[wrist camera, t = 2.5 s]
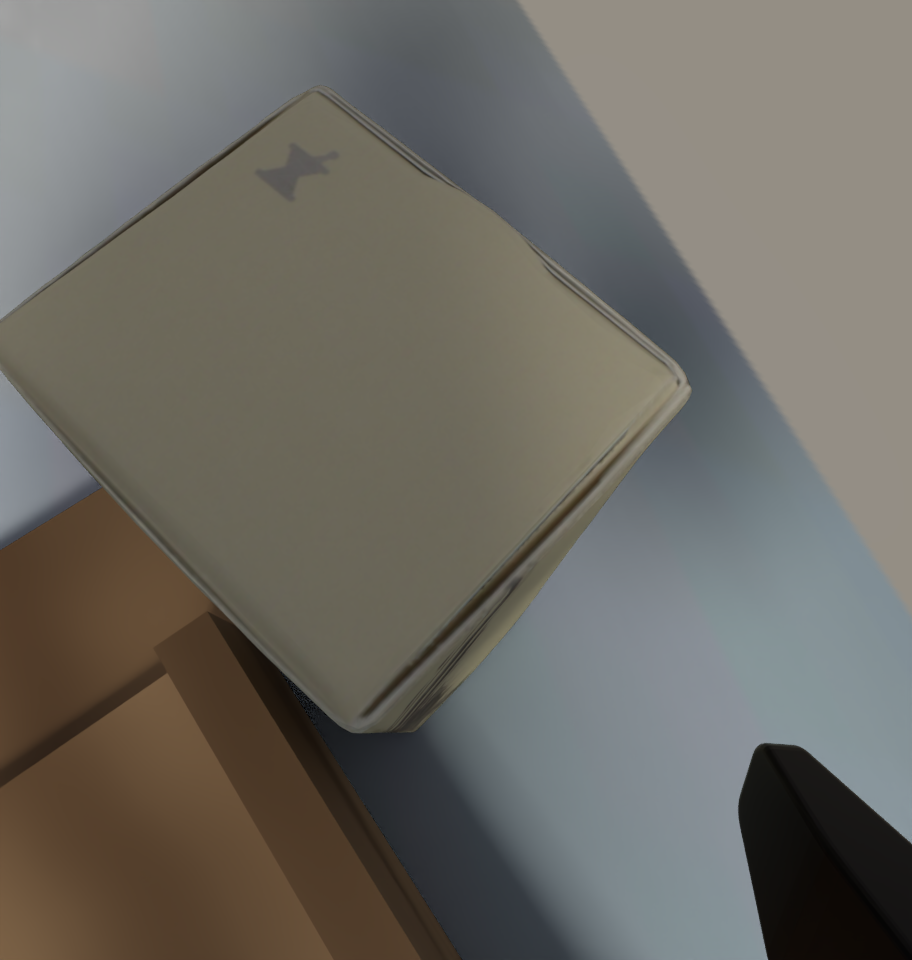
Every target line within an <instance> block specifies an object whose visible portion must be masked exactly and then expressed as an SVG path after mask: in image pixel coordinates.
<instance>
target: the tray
mask: <svg viewBox="0 0 912 960" xmlns="http://www.w3.org/2000/svg"><path fill="white" fill-rule="evenodd" d="M0 960H462V959H461V958H460V956H459V954H458V953H457V951H456V950H455V948H454V947H453V945H452V943H451V942H450V940H449V939H448V937H447V935H446V934H445V932H444V931H443V929H442V927H441V926H440V924H439V923H438V921H437V920H436V918H435V916H434V915H433V913H432V912H431V910H430V908H429V907H428V905H427V904H426V902H425V901H424V899H423V897H422V896H421V894H420V893H419V891H418V889H417V888H416V886H415V885H414V883H413V882H412V880H411V878H410V877H409V875H408V874H407V872H406V870H405V869H404V867H403V866H402V864H401V863H400V861H399V859H398V858H397V856H396V855H395V853H394V851H393V850H392V848H391V847H390V845H389V844H388V842H387V840H386V839H385V837H384V836H383V834H382V832H381V831H380V829H379V828H378V826H377V824H376V823H375V821H374V820H373V818H372V817H371V815H370V813H369V812H368V810H367V809H366V807H365V805H364V804H363V802H362V801H361V799H360V798H359V796H358V794H357V793H356V791H355V790H354V788H353V786H352V785H351V783H350V782H349V780H348V779H347V777H346V775H345V774H344V772H343V771H342V769H341V767H340V766H339V764H338V763H337V761H336V760H335V758H334V756H333V755H332V753H331V752H330V750H329V748H328V747H327V745H326V744H325V742H324V741H323V739H322V737H321V736H320V734H319V733H318V731H317V729H316V728H315V726H314V725H313V723H312V721H311V720H310V718H309V717H308V715H307V714H306V712H305V710H304V709H303V707H302V706H301V704H300V702H299V701H298V699H297V698H296V696H295V695H294V693H293V691H292V690H291V688H290V687H289V685H288V683H287V682H286V680H285V679H284V677H283V676H282V674H281V672H280V671H279V669H278V668H277V667H276V666H275V665H274V664H273V663H272V662H271V661H270V660H269V659H268V658H267V657H266V656H265V655H264V654H263V653H262V652H261V651H260V650H259V649H258V648H257V647H256V646H255V645H254V644H253V643H252V642H251V641H250V640H249V639H248V638H247V637H246V636H245V635H244V634H243V633H242V632H241V631H240V630H239V628H238V627H237V626H236V625H235V624H234V623H233V622H232V621H231V620H230V619H229V618H228V617H227V616H226V615H225V614H224V613H223V612H222V611H221V610H220V609H219V608H218V607H217V606H216V605H215V604H214V603H213V602H212V601H211V600H210V599H209V598H208V597H207V596H206V595H205V594H204V593H203V592H202V591H201V590H200V589H198V588H197V587H196V585H195V584H194V583H193V582H192V581H191V580H190V579H189V578H188V577H187V576H186V575H185V574H184V573H183V572H182V571H181V570H180V569H179V568H178V567H177V566H176V565H175V564H174V563H173V562H172V561H171V560H170V559H169V558H168V557H167V555H166V554H165V553H164V552H163V551H162V550H161V549H160V548H159V547H158V546H157V545H156V544H155V543H154V542H153V541H152V540H151V539H150V538H149V537H148V536H147V535H146V534H145V533H144V532H143V531H142V530H141V529H140V527H139V526H138V525H137V524H136V523H135V522H134V521H133V520H132V519H131V518H130V517H129V516H128V514H127V513H126V512H125V511H124V510H123V509H122V508H121V507H120V506H119V505H118V504H117V502H116V501H115V500H114V499H113V498H112V497H111V496H110V495H109V494H108V493H107V492H106V490H105V489H104V488H103V487H102V488H101V489H99V490H97V491H96V492H94V493H93V494H91V495H89V496H88V497H86V498H84V499H83V500H81V501H80V502H78V503H76V504H75V505H73V506H71V507H70V508H68V509H67V510H65V511H63V512H62V513H60V514H58V515H57V516H55V517H54V518H52V519H50V520H49V521H47V522H45V523H44V524H42V525H41V526H39V527H37V528H36V529H34V530H32V531H31V532H29V533H28V534H26V535H24V536H23V537H21V538H19V539H18V540H16V541H15V542H13V543H11V544H10V545H8V546H6V547H5V548H3V549H2V550H0Z"/></svg>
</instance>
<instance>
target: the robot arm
mask: <svg viewBox="0 0 912 960" xmlns="http://www.w3.org/2000/svg"><path fill="white" fill-rule="evenodd" d="M738 815H739V823H740V828H741V833H742V838H743V843H744V848H745V852H746V857H747V862H748V867H749V872H750V876H751V881H752V886H753V891H754V896H755V900H756V905H757V910H758V915H759V919H760V924H761V929H762V934H763V939H764V943H765V948H766V953H767V957H768V960H912V844H911V843H910V842H909V841H908V840H907V839H906V838H905V837H903V836H902V835H901V834H900V833H899V832H898V831H897V830H896V829H894V828H893V827H892V826H891V825H890V824H889V823H888V822H886V821H885V820H884V819H883V818H882V817H881V816H880V815H879V814H877V813H876V812H875V811H874V810H873V809H872V808H871V807H870V806H868V805H867V804H866V803H865V802H864V801H863V800H862V799H860V798H859V797H858V796H857V795H856V794H855V793H854V792H853V791H851V790H850V789H849V788H848V787H847V786H846V785H845V784H844V783H842V782H841V781H840V780H839V779H838V778H837V777H836V776H834V775H833V774H832V773H831V772H830V771H829V770H828V769H827V768H825V767H824V766H823V765H822V764H821V763H820V762H819V761H818V760H816V759H815V758H814V757H813V756H812V755H811V754H810V753H808V752H807V751H806V750H804V749H803V748H801V747H799V746H796V745H785V744H771V743H764V744H760V745H759V746H758V747H757V748H756V749H755V751H754V753H753V756H752V759H751V762H750V765H749V768H748V772H747V775H746V778H745V781H744V784H743V788H742V791H741V794H740V798H739V805H738Z"/></svg>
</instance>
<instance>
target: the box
mask: <svg viewBox="0 0 912 960" xmlns="http://www.w3.org/2000/svg"><path fill="white" fill-rule="evenodd" d="M0 370H1V371H2V373H3V374H4V375H5V376H6V377H7V379H8V380H9V381H10V382H11V384H12V385H13V386H14V387H15V388H16V390H17V391H18V392H19V393H20V394H21V396H22V397H23V398H24V399H25V400H26V402H27V403H28V404H29V405H30V406H31V407H32V408H33V410H34V411H35V412H36V413H37V414H38V415H39V417H40V418H41V419H42V420H43V421H44V422H45V423H46V425H47V426H48V427H49V428H50V429H51V430H52V431H53V432H54V433H55V435H56V436H57V437H58V438H59V439H60V440H61V441H62V443H63V444H64V445H65V446H66V447H67V448H68V449H69V451H70V452H71V453H72V454H73V455H74V456H75V457H76V459H77V460H78V461H79V462H80V463H81V464H82V465H83V467H84V468H85V469H86V470H87V471H88V472H89V473H90V474H91V475H92V476H93V477H94V479H95V480H96V481H97V482H98V483H99V484H100V485H101V486H102V487H103V488H104V489H105V490H106V492H107V493H108V494H109V495H110V496H111V497H112V498H113V499H114V500H115V501H116V502H117V504H118V505H119V506H120V507H121V508H122V509H123V510H124V511H125V512H126V513H127V514H128V516H129V517H130V518H131V519H132V520H133V521H134V522H135V523H136V524H137V525H138V526H139V527H140V529H141V530H142V531H143V532H144V533H145V534H146V535H147V536H148V537H149V538H150V539H151V540H152V541H153V542H154V543H155V544H156V545H157V546H158V547H159V548H160V549H161V550H162V551H163V552H164V553H165V554H166V555H167V557H168V558H169V559H170V560H171V561H172V562H173V563H174V564H175V565H176V566H177V567H178V568H179V569H180V570H181V571H182V572H183V573H184V574H185V575H186V576H187V577H188V578H189V579H190V580H191V581H192V582H193V583H194V584H195V585H196V587H197V588H198V589H200V590H201V591H202V592H203V593H204V594H205V595H206V596H207V597H208V598H209V599H210V600H211V601H212V602H213V603H214V604H215V605H216V606H217V607H218V608H219V609H220V610H221V611H222V612H223V613H224V614H225V615H226V616H227V617H228V618H229V619H230V620H231V621H232V622H233V623H234V624H235V625H236V626H237V627H238V628H239V630H240V631H241V632H242V633H243V634H244V635H245V636H246V637H247V638H248V639H249V640H250V641H251V642H252V643H253V644H254V645H255V646H256V647H257V648H258V649H259V650H260V651H261V652H262V653H263V654H264V655H265V656H266V657H267V658H268V659H269V660H270V661H271V662H272V663H273V664H274V665H275V666H276V667H277V668H279V669H280V670H281V671H282V672H283V673H284V674H285V675H286V676H287V677H288V678H289V679H290V680H291V681H292V682H293V683H294V684H295V685H296V686H297V687H298V688H299V689H301V690H302V691H303V692H304V693H305V694H306V695H307V696H308V697H309V698H310V699H311V700H312V701H313V702H314V703H315V704H316V705H317V706H318V707H319V708H320V709H321V710H322V711H324V712H325V713H326V714H327V715H328V716H329V717H330V718H331V719H332V720H333V721H334V722H336V723H337V724H338V725H339V726H340V727H342V728H344V729H345V730H347V731H349V732H351V733H379V732H383V733H386V732H388V733H389V732H391V733H392V732H394V733H397V732H414V731H416V730H417V729H418V728H419V727H420V726H421V725H422V724H423V723H424V722H425V721H426V720H427V719H428V718H429V717H430V716H431V715H432V714H433V713H434V712H435V711H436V710H437V709H438V708H439V707H440V706H441V705H442V704H443V703H444V702H445V701H446V700H447V698H448V697H449V696H450V695H451V694H452V693H453V692H454V691H455V690H456V689H457V688H458V687H459V686H460V685H461V684H462V683H463V682H464V681H465V680H466V678H467V677H468V676H469V675H470V674H471V673H472V672H473V671H474V670H475V669H476V668H477V666H478V665H479V664H480V663H481V662H482V661H483V660H484V659H485V658H486V656H487V655H488V654H489V653H490V652H491V651H492V650H493V648H494V647H495V646H496V645H497V644H498V643H499V642H500V640H501V639H502V638H503V637H504V636H505V634H506V633H507V632H508V631H509V630H510V628H511V627H512V626H513V625H514V624H515V622H516V621H517V620H518V619H519V618H520V616H521V615H522V614H523V612H524V611H525V610H526V608H527V607H528V606H529V605H530V603H531V602H532V601H533V599H534V598H535V597H536V595H537V594H538V592H539V591H540V590H541V588H542V587H543V585H544V584H545V583H546V581H547V580H548V578H549V577H550V576H551V574H552V573H553V572H554V570H555V569H556V568H557V566H558V565H559V564H560V562H561V561H562V560H563V558H564V557H565V556H566V554H567V553H568V552H569V550H570V549H571V548H572V546H573V545H574V543H575V542H576V540H577V539H578V538H579V537H580V535H581V534H582V533H583V531H584V530H585V529H586V528H587V526H588V525H589V524H590V523H591V521H592V520H593V519H594V517H595V516H596V514H597V513H598V512H599V510H600V509H601V508H602V506H603V505H604V504H605V502H606V501H607V500H608V498H609V497H610V496H611V494H612V493H613V492H614V490H615V489H616V488H617V486H618V485H619V484H620V482H621V481H622V480H623V478H624V477H625V476H626V474H627V473H628V472H629V470H630V469H631V468H632V466H633V465H634V464H635V462H636V461H637V460H638V459H639V457H640V456H641V455H642V454H643V452H644V451H645V450H646V449H647V447H648V446H649V445H650V444H651V443H652V442H653V440H654V439H655V438H656V437H657V436H658V435H659V433H660V432H661V431H662V430H663V429H664V428H665V427H666V426H667V424H668V423H669V422H670V421H671V420H672V419H673V418H674V417H675V415H676V414H677V413H678V412H679V411H680V410H681V409H682V407H683V406H684V405H685V403H686V402H687V401H688V399H689V397H690V394H691V392H692V389H691V387H690V384H689V382H688V379H687V376H686V374H685V372H684V371H683V370H682V368H681V367H680V366H679V365H678V363H677V362H676V361H675V360H674V359H673V358H671V357H670V356H669V355H668V354H667V353H666V352H664V351H663V350H662V349H661V348H660V347H658V346H657V345H656V344H655V343H654V342H652V341H651V340H650V339H649V338H648V337H647V336H645V335H644V334H643V333H642V332H641V331H639V330H638V329H637V328H636V327H635V326H633V325H632V324H631V323H630V322H629V321H627V320H626V319H625V318H624V317H623V316H621V315H620V314H619V313H618V312H616V311H615V310H614V309H613V308H611V307H610V306H609V305H608V304H606V303H605V302H604V301H603V300H601V299H600V298H599V297H598V296H597V295H595V294H594V293H593V292H592V291H591V290H590V289H589V288H587V287H586V286H585V285H584V284H582V283H581V282H580V281H579V280H577V279H576V278H575V277H574V276H572V275H571V274H570V273H569V272H568V271H566V270H565V269H564V268H563V267H561V266H560V265H559V264H558V263H557V262H555V261H554V260H553V259H552V258H550V257H549V256H548V255H547V254H545V253H544V252H543V251H542V250H540V249H539V248H538V247H537V246H535V245H534V244H533V243H532V242H530V241H529V240H528V239H527V238H525V237H524V236H523V235H522V234H520V233H519V232H518V231H516V230H515V229H514V228H513V227H512V226H510V225H509V224H508V223H507V222H506V221H505V220H503V219H502V218H501V217H500V216H499V215H498V214H496V213H495V212H494V211H493V210H491V209H490V208H488V207H487V206H485V205H484V204H482V203H481V202H479V201H478V200H476V199H475V198H474V197H472V196H471V195H470V194H468V193H467V192H466V191H464V190H463V189H462V188H460V187H459V186H458V185H456V184H455V183H454V182H453V181H451V180H450V179H449V178H447V177H446V176H445V175H443V174H442V173H441V172H439V171H438V170H437V169H435V168H434V167H433V166H431V165H430V164H429V163H427V162H426V161H425V160H423V159H422V158H421V157H420V156H418V155H417V154H416V153H414V152H413V151H412V150H410V149H409V148H408V147H407V146H405V145H404V144H403V143H401V142H400V141H399V140H397V139H396V138H395V137H394V136H392V135H391V134H390V133H388V132H387V131H386V130H384V129H383V128H382V127H380V126H379V125H378V124H376V123H375V122H374V121H372V120H371V119H370V118H368V117H367V116H366V115H364V114H363V113H362V112H360V111H359V110H357V109H356V108H355V107H353V106H352V105H351V104H349V103H348V102H347V101H346V100H344V99H343V98H342V97H341V96H339V95H338V94H337V93H336V92H334V91H333V90H332V89H331V88H328V87H326V86H321V85H319V86H316V87H313V88H311V89H309V90H308V91H306V92H304V93H302V94H300V95H298V96H296V97H294V98H292V99H291V100H289V101H288V102H287V103H285V104H284V105H282V106H281V107H280V108H278V109H277V110H276V111H274V112H273V113H271V114H270V115H269V116H267V117H266V118H265V119H263V120H262V121H261V122H260V123H259V124H258V125H256V126H255V127H254V128H252V129H251V130H250V131H248V132H247V133H246V134H244V135H243V136H242V137H240V138H239V139H237V140H236V141H234V142H233V143H231V144H230V145H229V146H227V147H226V148H225V149H223V150H222V151H221V152H219V153H218V154H217V155H215V156H214V157H213V158H211V159H210V160H208V161H207V162H206V163H204V164H203V165H202V166H200V167H199V168H197V169H196V170H195V171H193V172H192V173H191V174H189V175H188V176H187V177H185V178H184V179H183V180H181V181H180V182H179V183H177V184H176V185H175V186H173V187H172V188H171V189H169V190H168V191H167V192H165V193H164V194H163V195H161V196H160V197H159V198H157V199H156V200H155V201H154V202H152V203H151V204H150V205H148V206H147V207H146V208H145V209H143V210H142V211H141V212H139V213H138V214H137V215H135V216H134V217H133V218H131V219H130V220H129V221H127V222H126V223H125V224H123V225H122V226H121V227H120V228H118V229H117V230H116V231H115V232H113V233H112V234H111V235H110V236H108V237H107V238H106V239H105V240H103V241H102V242H100V243H99V244H98V245H96V246H95V247H94V248H92V249H91V250H89V251H88V252H87V253H85V254H84V255H83V256H82V257H80V258H79V259H78V260H77V261H76V262H75V263H73V264H72V265H71V266H70V267H68V268H67V269H66V270H64V271H63V272H61V273H60V274H59V275H57V276H56V277H55V278H53V279H52V280H51V281H49V282H48V283H46V284H45V285H44V286H42V287H41V288H40V289H38V290H37V291H36V292H35V293H33V294H32V295H31V296H30V297H28V298H27V299H26V300H25V301H23V302H22V303H21V304H20V305H18V306H17V307H16V308H15V309H13V310H12V311H11V312H10V313H8V314H7V315H6V316H5V317H3V318H2V319H1V320H0Z"/></svg>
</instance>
